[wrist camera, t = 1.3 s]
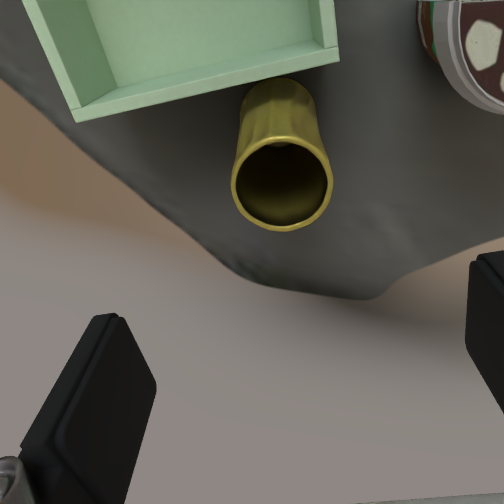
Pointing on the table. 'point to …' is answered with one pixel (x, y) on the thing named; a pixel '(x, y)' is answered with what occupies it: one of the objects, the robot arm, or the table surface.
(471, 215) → the table surface
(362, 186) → the table surface
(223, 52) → the tote
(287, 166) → the vase
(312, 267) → the table surface
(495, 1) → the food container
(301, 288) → the table surface
